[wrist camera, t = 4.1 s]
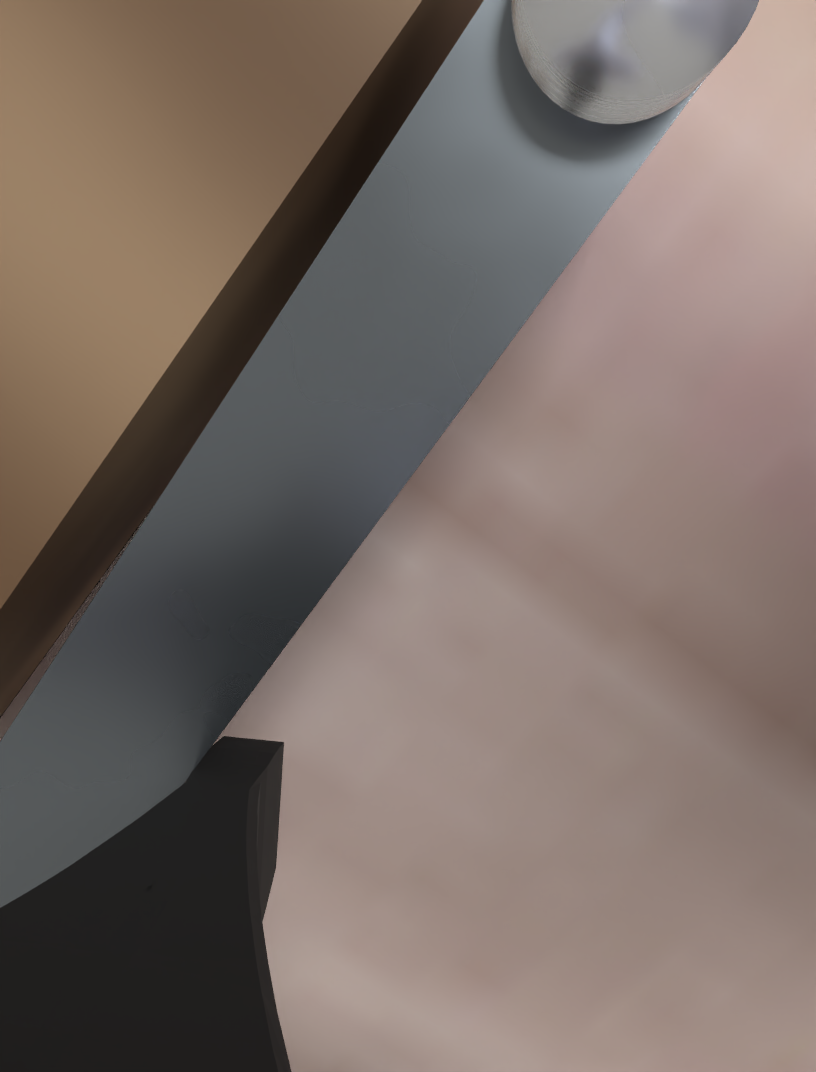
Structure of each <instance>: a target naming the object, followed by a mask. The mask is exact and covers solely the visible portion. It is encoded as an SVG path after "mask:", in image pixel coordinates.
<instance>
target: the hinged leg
mask: <svg viewBox="0 0 816 1072" xmlns="http://www.w3.org/2000/svg"><path fill="white" fill-rule="evenodd" d="M758 2H759V0H484V1H483V2H482V4H481V5H480V7H479V9H478V10H477V12H476V13H475V15H474V16H473V18H472V19H471V21H470V22H469V24H468V25H467V27H466V28H465V30H464V32H463V33H462V35H461V36H460V38H459V39H458V41H457V42H456V44H455V45H454V47H453V48H452V50H451V51H450V53H449V55H448V56H447V58H446V59H445V61H444V62H443V64H442V65H441V67H440V68H439V70H438V71H437V73H436V74H435V76H434V78H433V79H432V81H431V82H430V84H429V85H428V87H427V88H426V90H425V91H424V93H423V94H422V96H421V97H420V99H419V101H418V102H417V104H416V105H415V107H414V108H413V110H412V111H411V113H410V114H409V116H408V117H407V119H406V120H405V122H404V124H403V125H402V127H401V128H400V130H399V131H398V133H397V134H396V136H395V137H394V139H393V140H392V142H391V143H390V145H389V147H388V148H387V150H386V151H385V153H384V154H383V156H382V157H381V159H380V160H379V162H378V163H377V165H376V166H375V168H374V170H373V171H372V173H371V174H370V176H369V177H368V179H367V180H366V182H365V183H364V185H363V186H362V188H361V189H360V191H359V193H358V194H357V196H356V197H355V199H354V200H353V202H352V203H351V205H350V206H349V208H348V209H347V211H346V212H345V214H344V216H343V217H342V219H341V220H340V222H339V223H338V225H337V226H336V228H335V229H334V231H333V232H332V234H331V235H330V237H329V239H328V240H327V242H326V243H325V245H324V246H323V248H322V249H321V251H320V252H319V254H318V255H317V257H316V258H315V260H314V262H313V263H312V265H311V266H310V268H309V269H308V271H307V272H306V274H305V275H304V277H303V278H302V280H301V281H300V283H299V285H298V286H297V288H296V289H295V291H294V292H293V294H292V295H291V297H290V298H289V300H288V301H287V303H286V304H285V306H284V308H283V309H282V311H281V312H280V314H279V315H278V317H277V318H276V320H275V321H274V323H273V324H272V326H271V327H270V329H269V331H268V332H267V334H266V335H265V337H264V338H263V340H262V341H261V343H260V344H259V346H258V347H257V349H256V350H255V352H254V354H253V355H252V357H251V358H250V360H249V361H248V363H247V364H246V366H245V367H244V369H243V370H242V372H241V373H240V375H239V376H238V378H237V380H236V381H235V383H234V384H233V386H232V387H231V389H230V390H229V392H228V393H227V395H226V396H225V398H224V399H223V401H222V403H221V404H220V406H219V407H218V409H217V410H216V412H215V413H214V415H213V416H212V418H211V419H210V421H209V422H208V424H207V426H206V427H205V429H204V430H203V432H202V433H201V435H200V436H199V438H198V439H197V441H196V442H195V444H194V445H193V447H192V449H191V450H190V452H189V453H188V455H187V456H186V458H185V459H184V461H183V462H182V464H181V465H180V467H179V468H178V470H177V472H176V473H175V475H174V476H173V478H172V479H171V481H170V482H169V484H168V485H167V487H166V488H165V490H164V491H163V493H162V495H161V496H160V498H159V499H158V501H157V502H156V504H155V505H154V507H153V508H152V510H151V511H150V513H149V514H148V516H147V518H146V519H145V521H144V522H143V524H142V525H141V527H140V528H139V530H138V531H137V533H136V534H135V536H134V537H133V539H132V541H131V542H130V544H129V545H128V547H127V548H126V550H125V551H124V553H123V554H122V556H121V557H120V559H119V560H118V562H117V564H116V565H115V567H114V568H113V570H112V571H111V573H110V574H109V576H108V577H107V579H106V580H105V582H104V583H103V585H102V587H101V588H100V590H99V591H98V593H97V594H96V596H95V597H94V599H93V600H92V602H91V603H90V605H89V606H88V608H87V610H86V611H85V613H84V614H83V616H82V617H81V619H80V620H79V622H78V623H77V625H76V626H75V628H74V629H73V631H72V633H71V634H70V636H69V637H68V639H67V640H66V642H65V643H64V645H63V646H62V648H61V649H60V651H59V652H58V654H57V656H56V657H55V659H54V660H53V662H52V663H51V665H50V666H49V668H48V669H47V671H46V672H45V674H44V675H43V677H42V679H41V680H40V682H39V683H38V685H37V686H36V688H35V689H34V691H33V692H32V694H31V695H30V697H29V698H28V700H27V702H26V703H25V705H24V706H23V708H22V709H21V711H20V712H19V714H18V715H17V717H16V718H15V720H14V721H13V723H12V725H11V726H10V728H9V729H8V731H7V732H6V734H5V735H4V737H3V738H2V740H1V741H0V908H1V907H3V906H4V905H6V904H8V903H10V902H11V901H13V900H15V899H17V898H18V897H20V896H22V895H23V894H25V893H27V892H29V891H30V890H32V889H33V888H35V887H37V886H38V885H40V884H42V883H43V882H45V881H46V880H48V879H50V878H51V877H53V876H54V875H56V874H58V873H59V872H61V871H62V870H64V869H65V868H67V867H69V866H70V865H72V864H73V863H75V862H76V861H78V860H79V859H80V858H82V857H83V856H85V855H86V854H88V853H89V852H91V851H92V850H93V849H95V848H96V847H98V846H99V845H101V844H102V843H104V842H105V841H106V840H108V839H109V838H111V837H112V836H114V835H115V834H117V833H118V832H119V831H121V830H122V829H124V828H125V827H127V826H128V825H130V824H131V823H133V822H134V821H135V820H137V819H138V818H139V817H141V816H142V815H143V814H145V813H146V812H147V811H149V810H150V809H151V808H152V807H154V806H155V805H156V804H158V803H159V802H160V801H162V800H163V799H164V798H166V797H167V796H168V795H170V794H171V793H172V792H174V791H175V790H176V789H177V788H179V787H180V786H181V785H182V784H184V783H185V781H186V780H187V779H188V777H189V775H190V774H191V772H192V770H194V769H195V768H196V766H197V765H198V764H199V762H200V761H201V760H202V758H203V757H204V756H205V754H206V753H207V752H208V750H209V749H210V748H211V746H212V745H213V744H214V742H215V741H216V739H217V738H218V737H219V735H220V734H221V733H222V731H223V730H224V729H225V727H226V726H227V725H228V723H229V722H230V721H231V719H232V718H233V716H234V715H235V714H236V712H237V711H238V710H239V708H240V707H241V706H242V704H243V703H244V702H245V700H246V699H247V698H248V696H249V695H250V693H251V692H252V691H253V689H254V688H255V687H256V685H257V684H258V683H259V681H260V680H261V679H262V677H263V676H264V675H265V673H266V672H267V671H268V669H269V668H270V666H271V665H272V664H273V662H274V661H275V660H276V658H277V657H278V656H279V654H280V653H281V652H282V650H283V649H284V648H285V646H286V645H287V643H288V642H289V641H290V639H291V638H292V637H293V635H294V634H295V633H296V631H297V630H298V629H299V627H300V626H301V625H302V623H303V622H304V621H305V619H306V618H307V616H308V615H309V614H310V612H311V611H312V610H313V608H314V607H315V606H316V604H317V603H318V602H319V600H320V599H321V598H322V596H323V595H324V593H325V592H326V591H327V589H328V588H329V587H330V585H331V584H332V583H333V581H334V580H335V579H336V577H337V576H338V575H339V573H340V572H341V570H342V569H343V568H344V566H345V565H346V564H347V562H348V561H349V560H350V558H351V557H352V556H353V554H354V553H355V552H356V550H357V549H358V548H359V546H360V545H361V543H362V542H363V541H364V539H365V538H366V537H367V535H368V534H369V533H370V531H371V530H372V529H373V527H374V526H375V525H376V523H377V522H378V520H379V519H380V518H381V516H382V515H383V514H384V512H385V511H386V510H387V508H388V507H389V506H390V504H391V503H392V502H393V500H394V499H395V497H396V496H397V495H398V493H399V492H400V491H401V489H402V488H403V487H404V485H405V484H406V483H407V481H408V480H409V479H410V477H411V476H412V475H413V473H414V472H415V470H416V469H417V468H418V466H419V465H420V464H421V462H422V461H423V460H424V458H425V457H426V456H427V454H428V453H429V452H430V450H431V449H432V447H433V446H434V445H435V443H436V442H437V441H438V439H439V438H440V437H441V435H442V434H443V433H444V431H445V430H446V429H447V427H448V426H449V424H450V423H451V422H452V420H453V419H454V418H455V416H456V415H457V414H458V412H459V411H460V410H461V408H462V407H463V406H464V404H465V403H466V402H467V400H468V399H469V397H470V396H471V395H472V393H473V392H474V391H475V389H476V388H477V387H478V385H479V384H480V383H481V381H482V380H483V379H484V377H485V376H486V374H487V373H488V372H489V370H490V369H491V368H492V366H493V365H494V364H495V362H496V361H497V360H498V358H499V357H500V356H501V354H502V353H503V351H504V350H505V349H506V347H507V346H508V345H509V343H510V342H511V341H512V339H513V338H514V337H515V335H516V334H517V333H518V331H519V330H520V329H521V327H522V326H523V324H524V323H525V322H526V320H527V319H528V318H529V316H530V315H531V314H532V312H533V311H534V310H535V308H536V307H537V306H538V304H539V303H540V301H541V300H542V299H543V297H544V296H545V295H546V293H547V292H548V291H549V289H550V288H551V287H552V285H553V284H554V283H555V281H556V280H557V279H558V277H559V276H560V274H561V273H562V272H563V270H564V269H565V268H566V266H567V265H568V264H569V262H570V261H571V260H572V258H573V257H574V256H575V254H576V253H577V251H578V250H579V249H580V247H581V246H582V245H583V243H584V242H585V241H586V239H587V238H588V237H589V235H590V234H591V233H592V231H593V230H594V228H595V227H596V226H597V224H598V223H599V222H600V220H601V219H602V218H603V216H604V215H605V214H606V212H607V211H608V210H609V208H610V207H611V206H612V204H613V203H614V201H615V200H616V199H617V197H618V196H619V195H620V193H621V192H622V191H623V189H624V188H625V187H626V185H627V184H628V183H629V181H630V180H631V178H632V177H633V176H634V174H635V173H636V172H637V170H638V169H639V168H640V166H641V165H642V164H643V162H644V161H645V160H646V158H647V157H648V155H649V154H650V153H651V151H652V150H653V149H654V147H655V146H656V145H657V143H658V142H659V141H660V139H661V138H662V137H663V135H664V134H665V133H666V131H667V130H668V128H669V127H670V126H671V124H672V123H673V122H674V120H675V119H676V118H677V116H678V115H679V114H680V112H681V111H682V110H683V108H684V107H685V105H686V104H687V103H688V101H689V100H690V99H691V97H692V96H693V95H694V93H695V92H696V91H697V89H698V88H699V87H700V85H701V84H702V82H703V81H704V80H705V78H706V77H707V76H708V75H709V74H710V73H711V72H712V70H713V69H714V68H715V67H716V66H717V65H718V64H719V62H720V61H721V60H722V59H723V58H724V57H725V56H726V54H727V53H728V52H729V51H730V50H731V48H732V47H733V46H734V45H735V44H736V42H737V41H738V39H739V38H740V36H741V35H742V33H743V32H744V30H745V29H746V27H747V25H748V24H749V22H750V20H751V18H752V16H753V14H754V12H755V10H756V7H757V4H758Z"/></svg>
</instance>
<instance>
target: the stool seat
mask: <svg viewBox="0 0 816 1072" xmlns="http://www.w3.org/2000/svg"><path fill="white" fill-rule="evenodd" d="M483 1H484V0H0V717H1V715H2V714H3V713H4V711H5V710H6V709H7V707H8V706H9V704H10V703H11V702H12V700H13V699H14V697H15V696H16V695H17V693H18V692H19V691H20V689H21V688H22V686H23V685H24V684H25V682H26V681H27V680H28V678H29V677H30V675H31V674H32V673H33V671H34V670H35V668H36V667H37V666H38V664H39V663H40V662H41V660H42V659H43V657H44V656H45V655H46V653H47V652H48V650H49V649H50V648H51V646H52V645H53V644H54V642H55V641H56V639H57V638H58V637H59V635H60V634H61V632H62V631H63V630H64V628H65V627H66V626H67V624H68V623H69V621H70V620H71V619H72V617H73V616H74V615H75V613H76V612H77V610H78V609H79V608H80V606H81V605H82V603H83V602H84V601H85V599H86V598H87V597H88V595H89V594H90V592H91V591H92V590H93V588H94V587H95V585H96V584H97V583H98V581H99V580H100V579H101V577H102V576H103V574H104V573H105V572H106V570H107V569H108V567H109V566H110V565H111V563H112V562H113V561H114V559H115V558H116V556H117V555H118V554H119V552H120V551H121V550H122V548H123V547H124V545H125V544H126V543H127V541H128V540H129V538H130V537H131V536H132V534H133V533H134V532H135V530H136V529H137V527H138V526H139V525H140V523H141V522H142V520H143V519H144V518H145V516H146V515H147V514H148V512H149V511H150V509H151V508H152V507H153V505H154V504H155V502H156V501H157V500H158V498H159V497H160V496H161V494H162V493H163V491H164V490H165V488H166V487H167V485H168V484H169V482H170V481H171V479H172V478H173V476H174V475H175V473H176V472H177V470H178V468H179V467H180V465H181V464H182V462H183V461H184V459H185V458H186V456H187V455H188V453H189V452H190V450H191V449H192V447H193V445H194V444H195V442H196V441H197V439H198V438H199V436H200V435H201V433H202V432H203V430H204V429H205V427H206V426H207V424H208V422H209V421H210V419H211V418H212V416H213V415H214V413H215V412H216V410H217V409H218V407H219V406H220V404H221V403H222V401H223V399H224V398H225V396H226V395H227V393H228V392H229V390H230V389H231V387H232V386H233V384H234V383H235V381H236V380H237V378H238V376H239V375H240V373H241V372H242V370H243V369H244V367H245V366H246V364H247V363H248V361H249V360H250V358H251V357H252V355H253V354H254V352H255V350H256V349H257V347H258V346H259V344H260V343H261V341H262V340H263V338H264V337H265V335H266V334H267V332H268V331H269V329H270V327H271V326H272V324H273V323H274V321H275V320H276V318H277V317H278V315H279V314H280V312H281V311H282V309H283V308H284V306H285V304H286V303H287V301H288V300H289V298H290V297H291V295H292V294H293V292H294V291H295V289H296V288H297V286H298V285H299V283H300V281H301V280H302V278H303V277H304V275H305V274H306V272H307V271H308V269H309V268H310V266H311V265H312V263H313V262H314V260H315V258H316V257H317V255H318V254H319V252H320V251H321V249H322V248H323V246H324V245H325V243H326V242H327V240H328V239H329V237H330V235H331V234H332V232H333V231H334V229H335V228H336V226H337V225H338V223H339V222H340V220H341V219H342V217H343V216H344V214H345V212H346V211H347V209H348V208H349V206H350V205H351V203H352V202H353V200H354V199H355V197H356V196H357V194H358V193H359V191H360V189H361V188H362V186H363V185H364V183H365V182H366V180H367V179H368V177H369V176H370V174H371V173H372V171H373V170H374V168H375V166H376V165H377V163H378V162H379V160H380V159H381V157H382V156H383V154H384V153H385V151H386V150H387V148H388V147H389V145H390V143H391V142H392V140H393V139H394V137H395V136H396V134H397V133H398V131H399V130H400V128H401V127H402V125H403V124H404V122H405V120H406V119H407V117H408V116H409V114H410V113H411V111H412V110H413V108H414V107H415V105H416V104H417V102H418V101H419V99H420V97H421V96H422V94H423V93H424V91H425V90H426V88H427V87H428V85H429V84H430V82H431V81H432V79H433V78H434V76H435V74H436V73H437V71H438V70H439V68H440V67H441V65H442V64H443V62H444V61H445V59H446V58H447V56H448V55H449V53H450V51H451V50H452V48H453V47H454V45H455V44H456V42H457V41H458V39H459V38H460V36H461V35H462V33H463V32H464V30H465V28H466V27H467V25H468V24H469V22H470V21H471V19H472V18H473V16H474V15H475V13H476V12H477V10H478V9H479V7H480V5H481V4H482V2H483Z"/></svg>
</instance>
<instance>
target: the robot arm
mask: <svg viewBox="0 0 816 1072" xmlns="http://www.w3.org/2000/svg"><path fill="white" fill-rule="evenodd" d="M283 748H284V742H276V741H266V740H256V739H246V738H236V737H227V736H224V737H223V738H221V739H220V740H219V741H218V742H216V743H215V744H214V745H213V746H212V747H211V748H210V749H209V750H208V752H207V753H206V754H205V756H204V757H203V758H202V760H201V761H200V762H199V764H198V765H197V766H196V768H195V769H194V770H192V772H191V774H190V775H189V777H188V779H187V780H186V782H185V783H184V784H182V785H181V786H180V787H179V788H177V789H176V790H175V791H174V792H172V793H171V794H170V795H168V796H167V797H166V798H164V799H163V800H162V801H160V802H159V803H158V804H156V805H155V806H154V807H152V808H151V809H150V810H149V811H147V812H146V813H145V814H143V815H142V816H141V817H139V818H138V819H137V820H135V821H134V822H133V823H131V824H130V825H128V826H127V827H125V828H124V829H122V830H121V831H119V832H118V833H117V834H115V835H114V836H112V837H111V838H109V839H108V840H106V841H105V842H104V843H102V844H101V845H99V846H98V847H96V848H95V849H93V850H92V851H91V852H89V853H88V854H86V855H85V856H83V857H82V858H80V859H79V860H78V861H76V862H75V863H73V864H72V865H70V866H69V867H67V868H65V869H64V870H62V871H61V872H59V873H58V874H56V875H54V876H53V877H51V878H50V879H48V880H46V881H45V882H43V883H42V884H40V885H38V886H37V887H35V888H33V889H32V890H30V891H29V892H27V893H25V894H23V895H22V896H20V897H18V898H17V899H15V900H13V901H11V902H10V903H8V904H6V905H4V906H3V907H1V908H0V1072H291V1069H290V1064H289V1060H288V1056H287V1052H286V1048H285V1043H284V1039H283V1035H282V1031H281V1026H280V1022H279V1018H278V1014H277V1009H276V1004H275V999H274V993H273V988H272V982H271V976H270V971H269V965H268V959H267V952H266V945H265V939H264V932H263V924H262V921H263V917H264V913H265V909H266V906H267V901H268V897H269V893H270V889H271V885H272V881H273V877H274V873H275V869H276V858H277V842H278V827H279V811H280V795H281V780H282V764H283Z"/></svg>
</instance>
